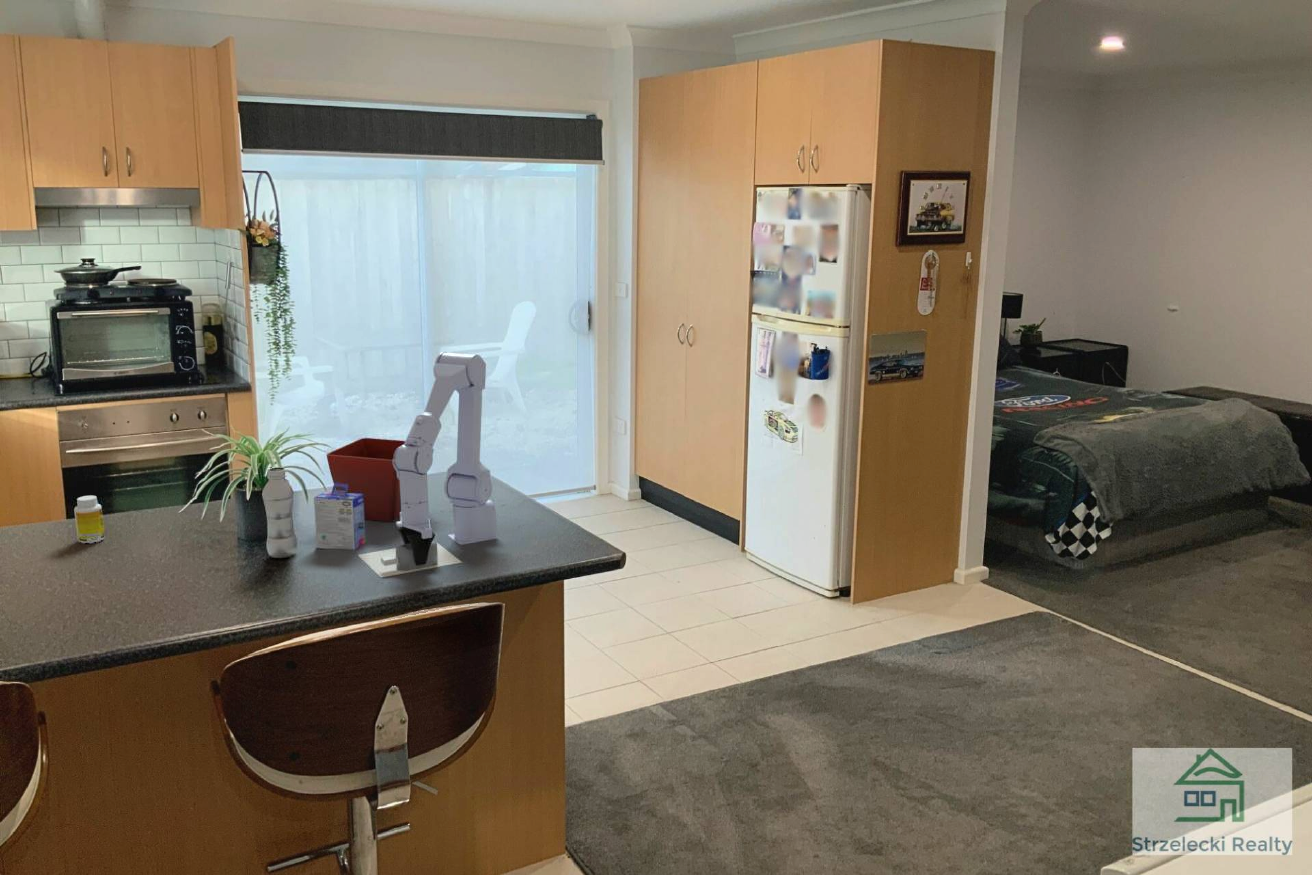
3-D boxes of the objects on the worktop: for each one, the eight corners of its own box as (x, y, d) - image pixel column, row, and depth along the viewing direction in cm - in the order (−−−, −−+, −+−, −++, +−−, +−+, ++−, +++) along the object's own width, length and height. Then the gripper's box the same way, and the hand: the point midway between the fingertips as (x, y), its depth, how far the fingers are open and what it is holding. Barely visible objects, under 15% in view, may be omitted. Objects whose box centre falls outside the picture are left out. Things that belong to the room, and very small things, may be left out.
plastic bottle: (305, 553, 235) (299, 467, 231) (282, 563, 229) (276, 474, 225) (283, 549, 238) (276, 463, 233) (260, 558, 232) (253, 471, 227)
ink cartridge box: (367, 544, 242) (364, 483, 239) (356, 552, 237) (352, 490, 234) (327, 541, 244) (324, 480, 241) (315, 548, 239) (311, 487, 235)
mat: (435, 543, 243) (435, 541, 243) (462, 564, 230) (461, 562, 230) (358, 557, 234) (357, 554, 233) (380, 580, 220) (380, 577, 220)
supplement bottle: (108, 541, 242) (103, 498, 240) (81, 546, 239) (75, 502, 237) (102, 534, 247) (97, 492, 244) (75, 539, 243) (70, 497, 241)
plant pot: (434, 505, 272) (431, 441, 268) (400, 527, 254) (397, 460, 250) (366, 499, 276) (363, 437, 272) (328, 521, 258) (324, 454, 254)
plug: (434, 558, 231) (433, 539, 230) (440, 564, 228) (439, 544, 227) (380, 568, 225) (379, 548, 224) (386, 574, 222) (385, 554, 221)
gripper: (385, 494, 228) (388, 554, 231) (407, 512, 216) (410, 574, 219) (416, 490, 232) (419, 548, 235) (440, 507, 220) (442, 568, 223)
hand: (417, 560), depth 227 cm, fingers open, 4 cm apart
